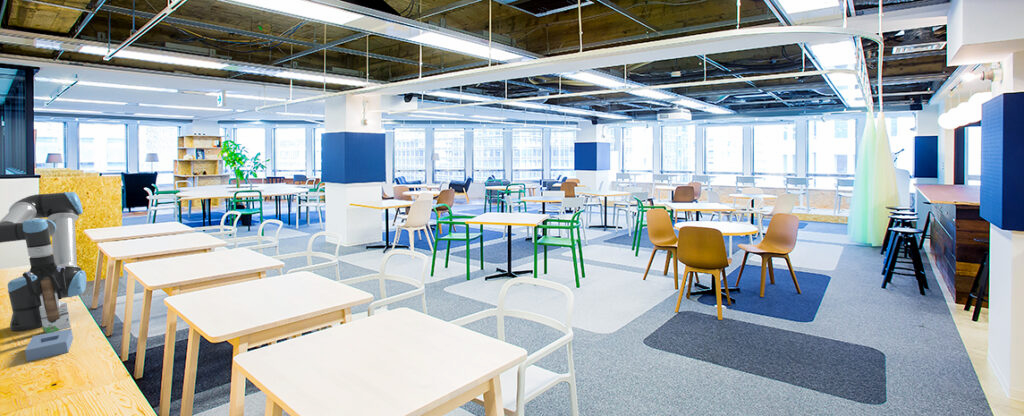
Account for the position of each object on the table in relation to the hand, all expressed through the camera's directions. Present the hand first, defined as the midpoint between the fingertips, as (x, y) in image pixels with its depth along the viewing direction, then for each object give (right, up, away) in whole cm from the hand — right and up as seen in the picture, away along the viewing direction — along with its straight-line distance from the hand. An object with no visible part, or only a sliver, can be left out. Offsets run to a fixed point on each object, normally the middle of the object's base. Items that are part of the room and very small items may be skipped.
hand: (51, 307), depth 214 cm
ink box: (-7, -12, +11) cm, 18 cm away
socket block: (+11, -14, -12) cm, 22 cm away
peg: (0, -5, +1) cm, 5 cm away
